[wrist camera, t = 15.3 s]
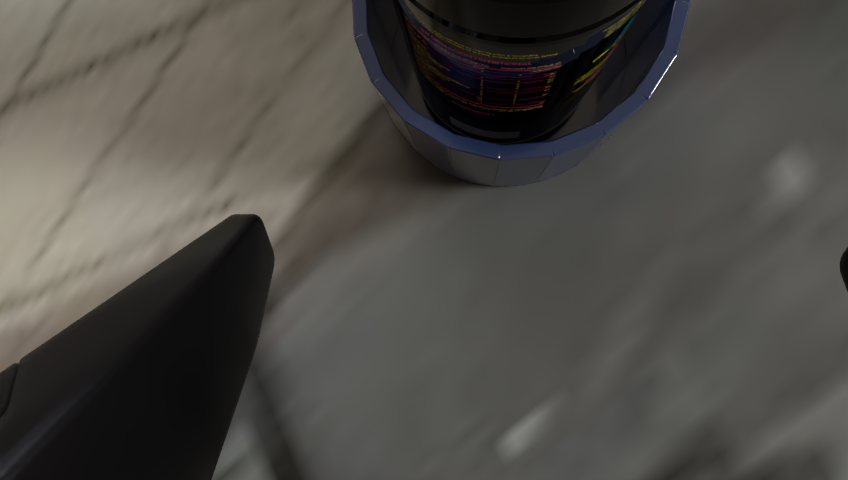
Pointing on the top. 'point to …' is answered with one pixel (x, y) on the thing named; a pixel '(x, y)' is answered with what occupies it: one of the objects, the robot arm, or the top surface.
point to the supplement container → (510, 59)
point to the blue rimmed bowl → (544, 155)
